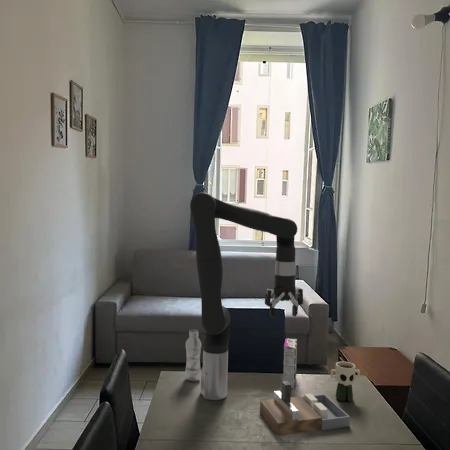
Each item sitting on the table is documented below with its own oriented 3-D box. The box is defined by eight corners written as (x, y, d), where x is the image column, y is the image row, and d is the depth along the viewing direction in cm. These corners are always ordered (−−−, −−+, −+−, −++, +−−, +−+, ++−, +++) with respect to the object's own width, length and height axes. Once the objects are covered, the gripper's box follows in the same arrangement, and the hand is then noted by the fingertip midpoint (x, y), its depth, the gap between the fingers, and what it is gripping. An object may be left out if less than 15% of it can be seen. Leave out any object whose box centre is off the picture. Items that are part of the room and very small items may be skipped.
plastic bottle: (188, 384, 178) (189, 334, 176) (182, 378, 184) (183, 329, 182) (203, 381, 181) (204, 332, 179) (196, 375, 187) (197, 327, 185)
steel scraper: (292, 420, 143) (293, 392, 143) (273, 399, 158) (274, 374, 157) (298, 419, 144) (299, 392, 143) (279, 398, 158) (280, 373, 158)
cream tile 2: (320, 410, 148) (327, 409, 148) (313, 403, 153) (320, 402, 153) (320, 425, 148) (327, 424, 149) (313, 417, 153) (319, 416, 154)
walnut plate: (277, 435, 142) (278, 423, 142) (259, 411, 157) (260, 400, 157) (321, 429, 146) (321, 417, 146) (299, 407, 161) (300, 396, 161)
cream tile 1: (311, 400, 154) (317, 399, 155) (304, 394, 159) (310, 393, 160) (310, 414, 155) (317, 413, 156) (303, 407, 160) (310, 407, 160)
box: (322, 430, 146) (322, 420, 145) (299, 406, 162) (299, 396, 162) (349, 427, 148) (350, 416, 148) (324, 403, 165) (324, 394, 164)
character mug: (332, 403, 165) (333, 368, 164) (327, 394, 172) (328, 361, 171) (361, 403, 165) (363, 368, 164) (355, 395, 172) (357, 361, 171)
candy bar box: (284, 376, 188) (285, 337, 187) (296, 378, 187) (297, 338, 186) (281, 387, 177) (283, 346, 176) (294, 389, 176) (296, 347, 175)
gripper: (298, 270, 172) (296, 312, 173) (263, 271, 168) (261, 314, 169) (307, 274, 165) (305, 318, 166) (270, 275, 161) (269, 320, 162)
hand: (283, 316), depth 168 cm, fingers open, 8 cm apart
